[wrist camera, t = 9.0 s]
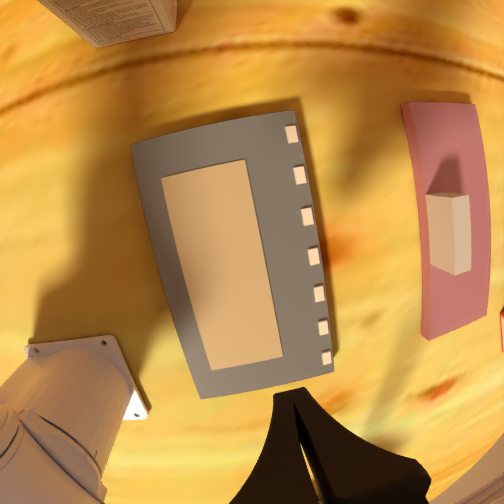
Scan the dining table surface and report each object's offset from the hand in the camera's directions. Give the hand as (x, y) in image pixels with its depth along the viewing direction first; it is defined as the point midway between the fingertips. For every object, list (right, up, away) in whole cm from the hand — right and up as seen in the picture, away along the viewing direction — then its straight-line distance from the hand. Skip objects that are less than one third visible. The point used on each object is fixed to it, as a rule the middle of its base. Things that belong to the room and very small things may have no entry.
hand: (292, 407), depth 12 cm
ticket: (-2, +6, +8) cm, 10 cm away
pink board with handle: (+14, +9, +9) cm, 19 cm away
